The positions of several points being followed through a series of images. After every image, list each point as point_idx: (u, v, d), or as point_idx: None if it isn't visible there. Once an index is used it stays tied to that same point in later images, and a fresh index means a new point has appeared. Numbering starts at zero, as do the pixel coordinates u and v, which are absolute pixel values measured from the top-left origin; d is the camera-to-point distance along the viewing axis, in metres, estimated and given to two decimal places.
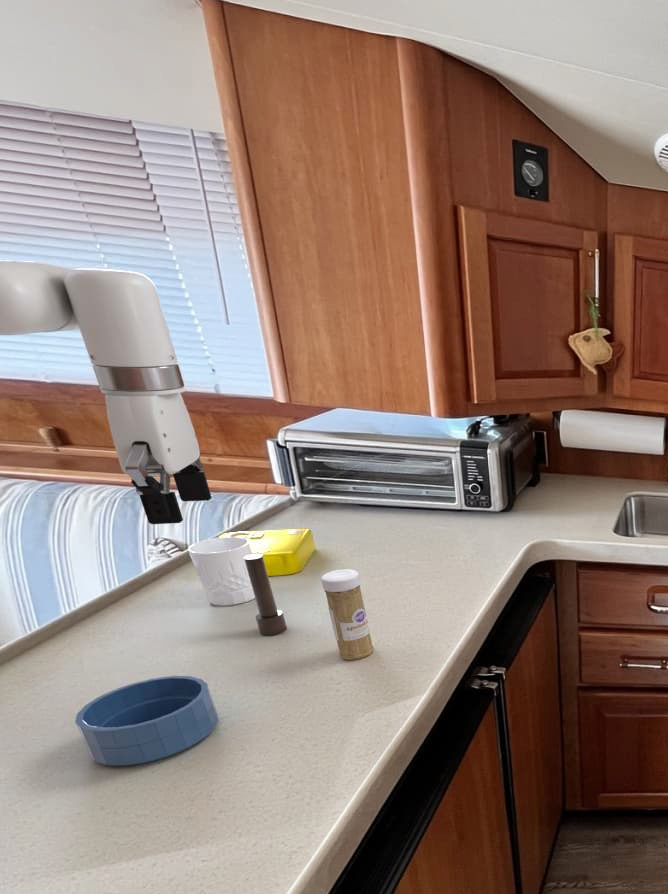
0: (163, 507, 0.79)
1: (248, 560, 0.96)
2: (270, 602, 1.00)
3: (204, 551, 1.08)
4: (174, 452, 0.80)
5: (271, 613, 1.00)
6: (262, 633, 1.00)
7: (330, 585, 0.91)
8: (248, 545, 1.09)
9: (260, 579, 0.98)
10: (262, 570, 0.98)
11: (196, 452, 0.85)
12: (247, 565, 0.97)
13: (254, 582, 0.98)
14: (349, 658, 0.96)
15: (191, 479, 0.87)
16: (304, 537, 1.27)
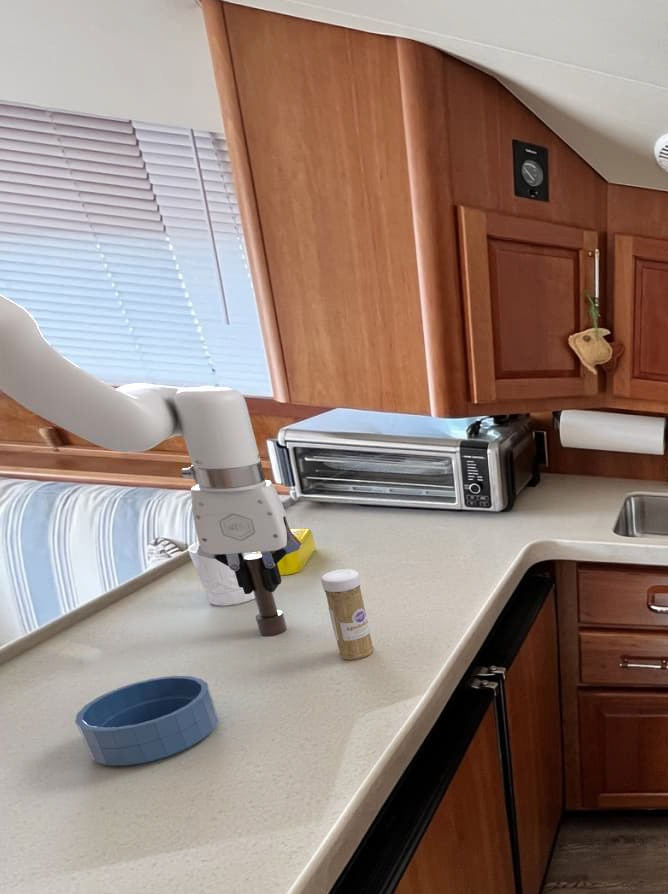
0: (279, 573, 1.00)
1: (248, 560, 0.96)
2: (270, 602, 1.00)
3: None
4: None
5: (271, 613, 1.00)
6: (262, 633, 1.00)
7: (330, 585, 0.91)
8: None
9: (260, 579, 0.98)
10: None
11: None
12: (247, 565, 0.97)
13: (254, 582, 0.98)
14: (349, 658, 0.96)
15: None
16: (304, 537, 1.27)
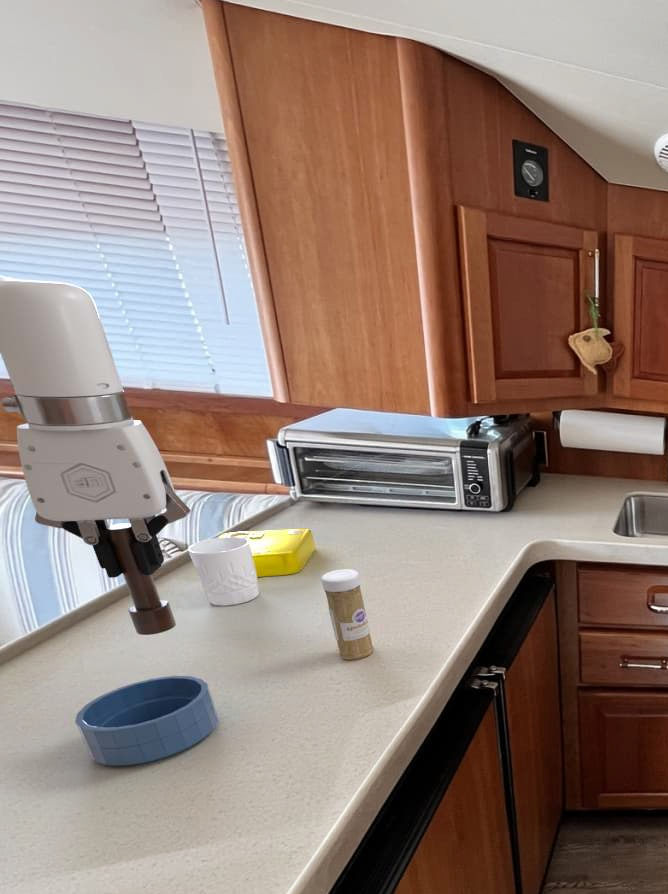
0: (160, 549, 0.74)
1: (111, 531, 0.70)
2: (148, 589, 0.74)
3: (204, 551, 1.08)
4: None
5: (150, 604, 0.74)
6: (138, 631, 0.74)
7: (330, 585, 0.91)
8: (248, 545, 1.09)
9: (131, 557, 0.72)
10: None
11: None
12: (111, 538, 0.70)
13: (123, 561, 0.71)
14: (349, 658, 0.96)
15: None
16: (304, 537, 1.27)
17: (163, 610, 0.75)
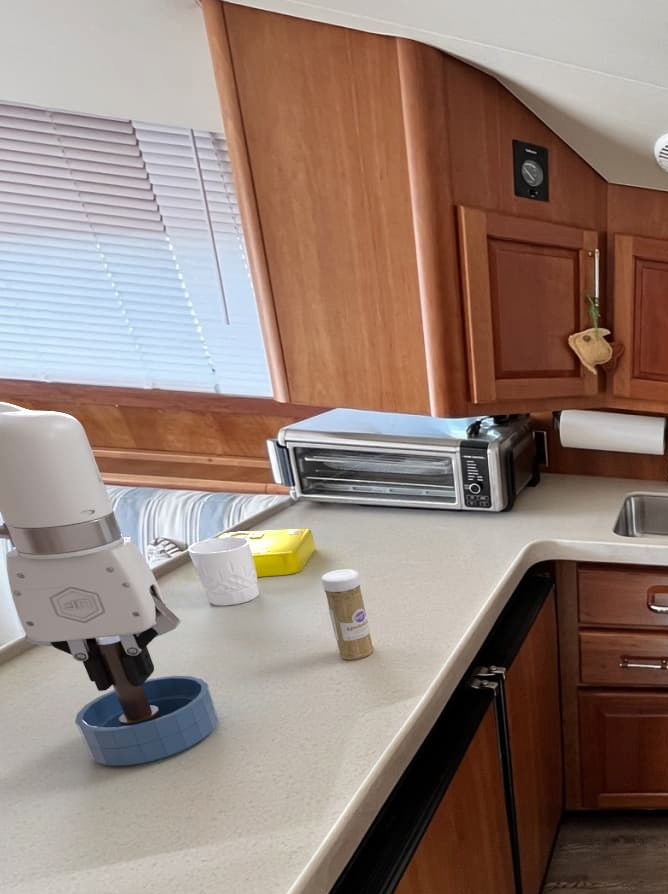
0: (150, 659, 0.74)
1: (101, 646, 0.70)
2: (138, 699, 0.74)
3: (204, 551, 1.08)
4: None
5: (140, 713, 0.74)
6: None
7: (330, 585, 0.91)
8: (248, 545, 1.09)
9: (121, 670, 0.72)
10: None
11: None
12: (100, 652, 0.71)
13: (112, 674, 0.72)
14: (349, 658, 0.96)
15: None
16: (304, 537, 1.27)
17: (153, 718, 0.75)
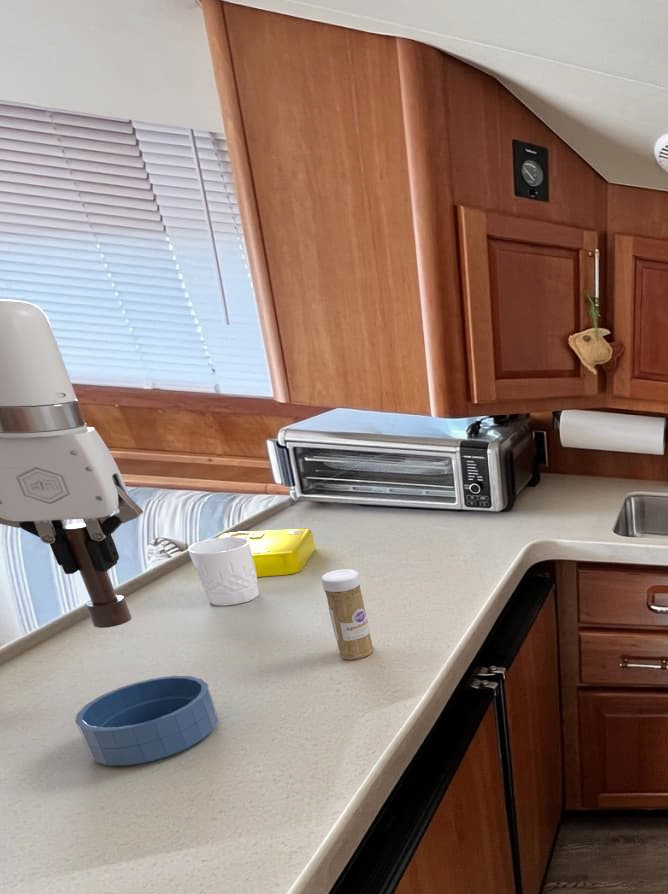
0: (114, 547, 0.79)
1: (67, 530, 0.75)
2: (103, 585, 0.78)
3: (204, 551, 1.08)
4: None
5: (106, 599, 0.79)
6: (95, 624, 0.79)
7: (330, 585, 0.91)
8: (248, 545, 1.09)
9: (86, 555, 0.77)
10: None
11: None
12: (67, 536, 0.75)
13: (78, 558, 0.76)
14: (349, 658, 0.96)
15: None
16: (304, 537, 1.27)
17: (118, 605, 0.80)
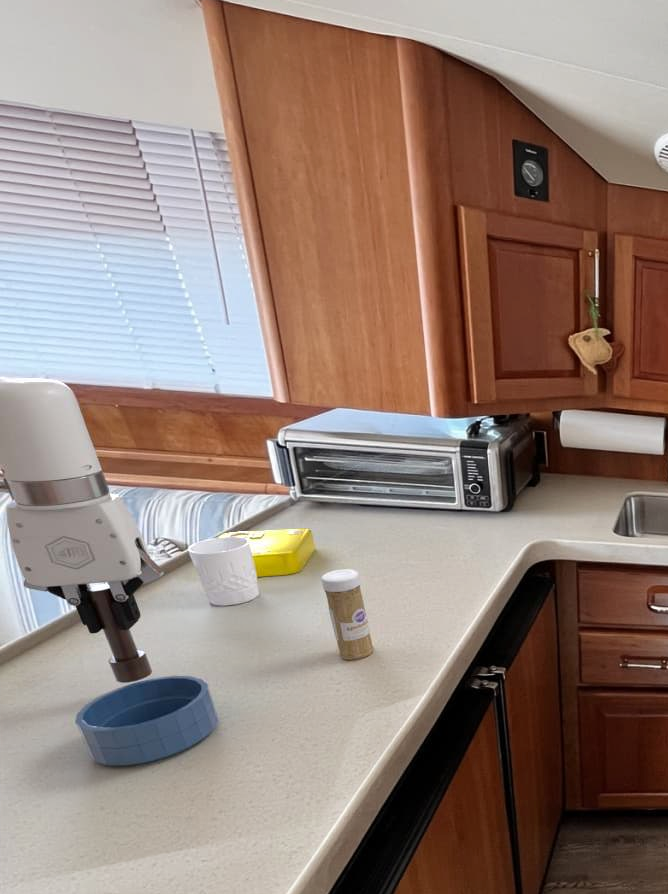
0: (136, 606, 0.82)
1: (92, 592, 0.78)
2: (126, 642, 0.82)
3: (204, 551, 1.08)
4: None
5: (128, 655, 0.82)
6: (118, 679, 0.83)
7: (330, 585, 0.91)
8: (248, 545, 1.09)
9: (110, 615, 0.80)
10: None
11: None
12: (91, 598, 0.79)
13: (102, 618, 0.80)
14: (349, 658, 0.96)
15: None
16: (304, 537, 1.27)
17: (140, 660, 0.83)
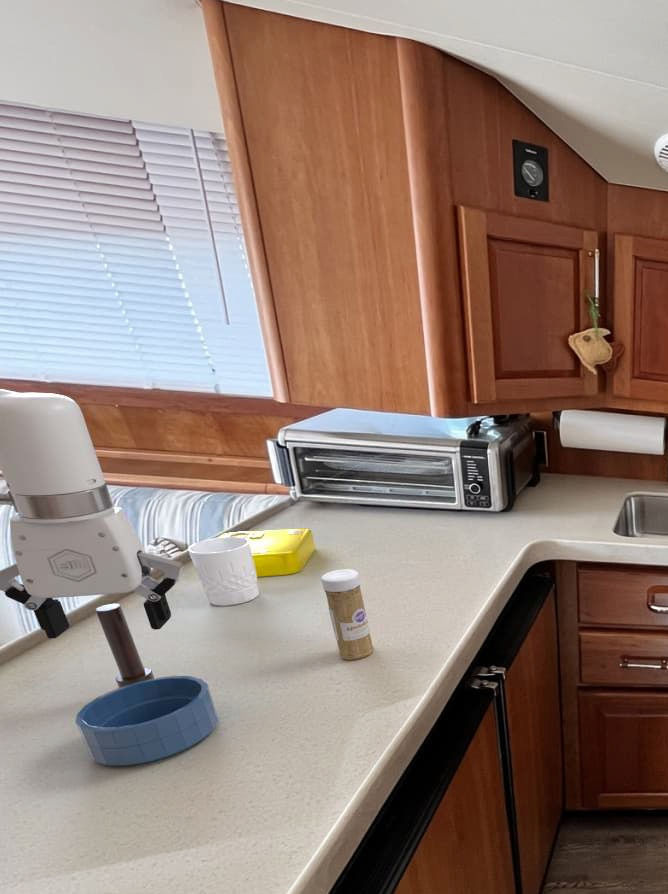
0: (167, 606, 0.83)
1: (100, 612, 0.79)
2: (133, 660, 0.83)
3: (204, 551, 1.08)
4: None
5: (135, 673, 0.83)
6: None
7: (330, 585, 0.91)
8: (248, 545, 1.09)
9: (117, 634, 0.81)
10: (120, 623, 0.81)
11: None
12: (99, 618, 0.80)
13: (110, 637, 0.81)
14: (349, 658, 0.96)
15: (56, 609, 0.79)
16: (304, 537, 1.27)
17: (146, 678, 0.84)
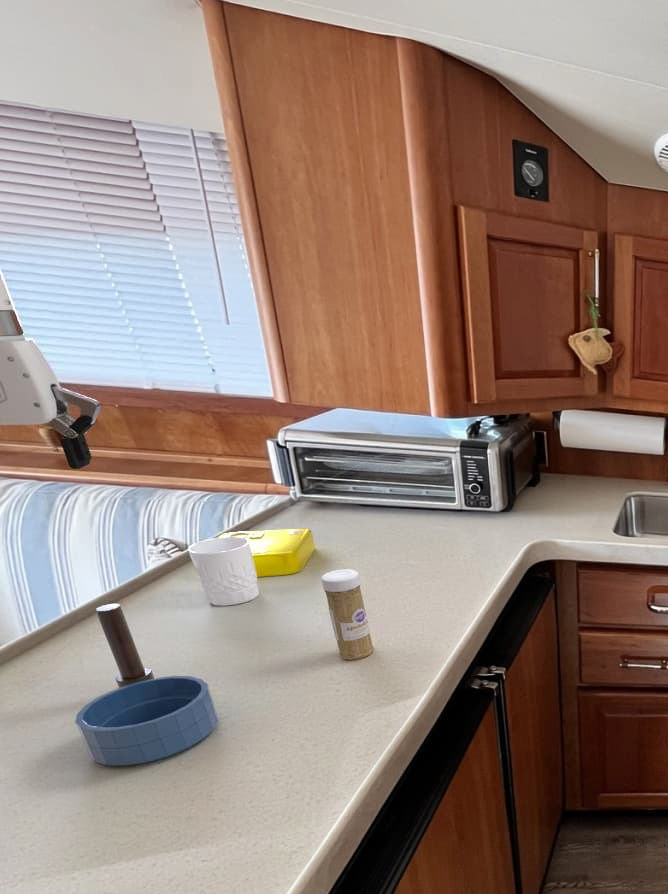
0: (87, 447, 0.83)
1: (100, 612, 0.79)
2: (133, 660, 0.83)
3: (204, 551, 1.08)
4: None
5: (135, 673, 0.83)
6: None
7: (330, 585, 0.91)
8: (248, 545, 1.09)
9: (117, 634, 0.81)
10: (120, 623, 0.81)
11: None
12: (99, 618, 0.80)
13: (110, 637, 0.81)
14: (349, 658, 0.96)
15: None
16: (304, 537, 1.27)
17: (146, 678, 0.84)
